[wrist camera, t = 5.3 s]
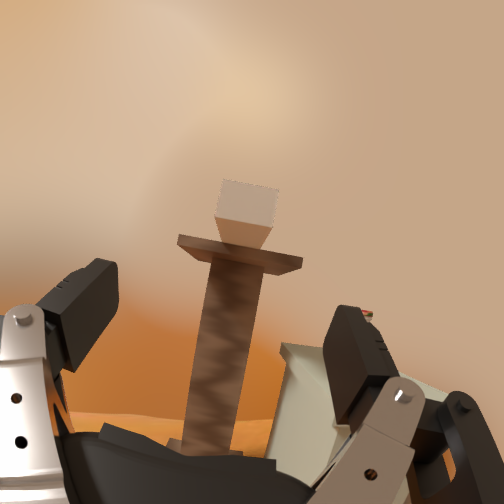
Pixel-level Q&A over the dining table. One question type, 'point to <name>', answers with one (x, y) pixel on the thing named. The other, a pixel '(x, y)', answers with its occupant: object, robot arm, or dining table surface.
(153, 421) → the dining table surface
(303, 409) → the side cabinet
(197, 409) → the walnut stand
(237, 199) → the panel bar
